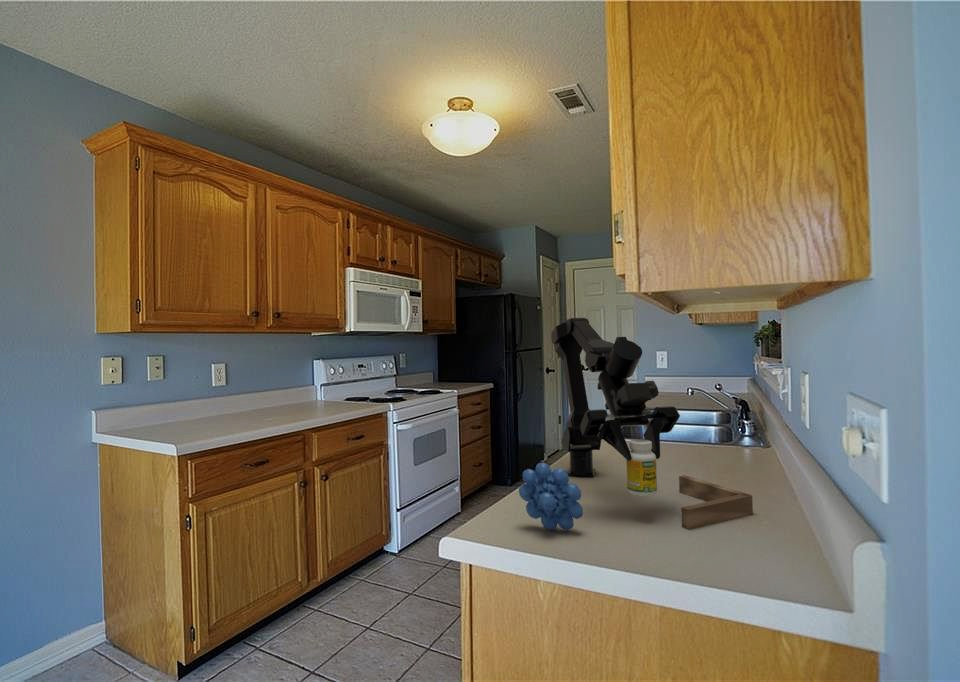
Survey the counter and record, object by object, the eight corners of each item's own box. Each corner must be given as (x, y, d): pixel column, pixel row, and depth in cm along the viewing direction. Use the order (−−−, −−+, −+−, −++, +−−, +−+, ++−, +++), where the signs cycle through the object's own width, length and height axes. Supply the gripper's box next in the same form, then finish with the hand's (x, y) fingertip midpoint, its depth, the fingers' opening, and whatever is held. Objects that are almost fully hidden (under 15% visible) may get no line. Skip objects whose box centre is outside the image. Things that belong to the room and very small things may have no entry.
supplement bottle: (639, 486, 96) (638, 437, 96) (663, 492, 92) (662, 441, 92) (621, 491, 93) (619, 440, 93) (644, 498, 89) (643, 445, 89)
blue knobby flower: (513, 535, 86) (511, 467, 86) (523, 521, 92) (521, 458, 92) (579, 543, 82) (578, 471, 82) (585, 528, 88) (583, 461, 88)
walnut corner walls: (625, 503, 101) (624, 486, 101) (684, 491, 108) (684, 475, 108) (689, 529, 86) (688, 509, 86) (753, 513, 93) (752, 495, 93)
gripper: (583, 368, 95) (608, 436, 84) (673, 365, 97) (708, 431, 87) (571, 404, 103) (592, 470, 92) (655, 400, 105) (684, 464, 94)
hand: (644, 458), depth 91 cm, fingers closed on supplement bottle, 5 cm apart
